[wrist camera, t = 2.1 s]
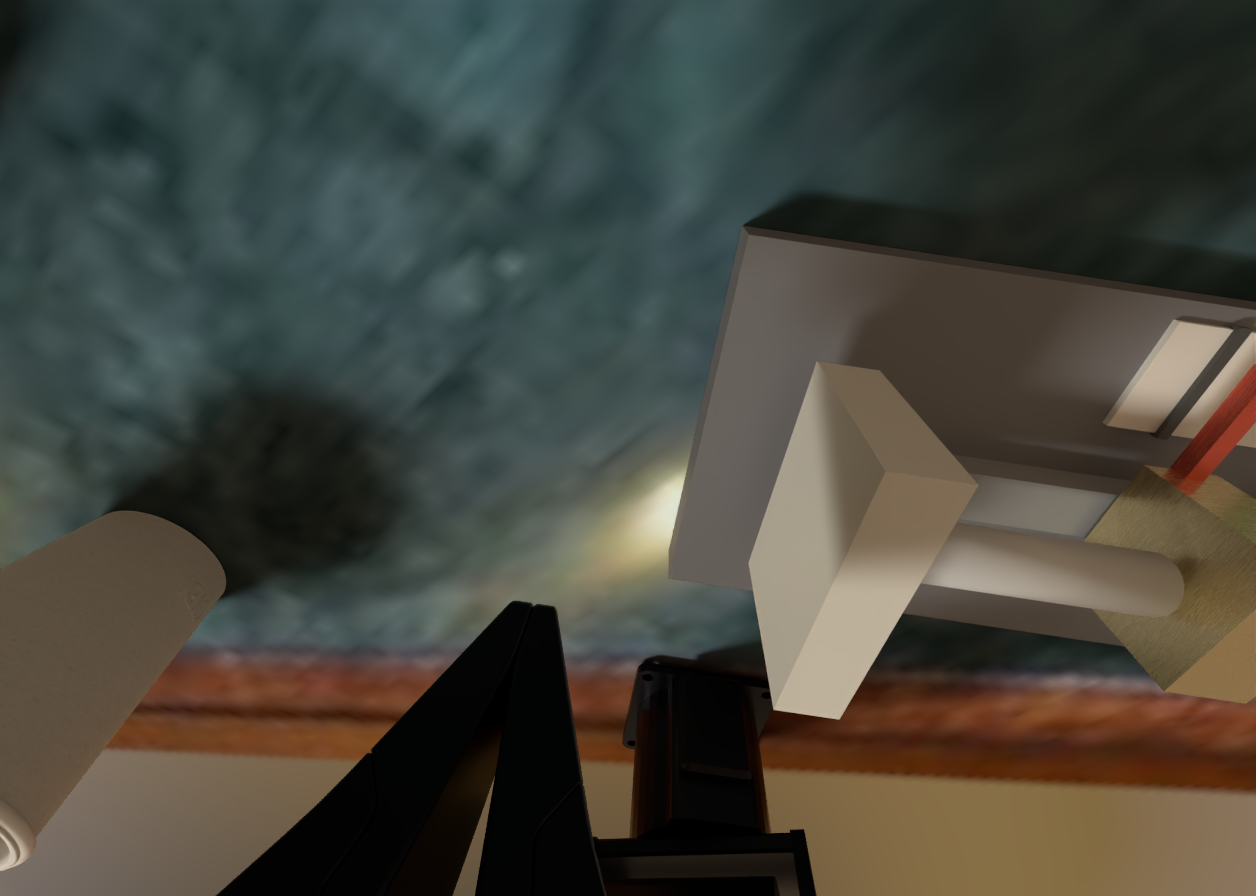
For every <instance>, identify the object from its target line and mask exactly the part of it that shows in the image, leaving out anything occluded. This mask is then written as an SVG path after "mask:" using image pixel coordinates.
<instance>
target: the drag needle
mask: <svg viewBox="0 0 1256 896" xmlns="http://www.w3.org/2000/svg"><path fill="white" fill-rule="evenodd" d="M1255 423H1256V364H1254V365H1253V366H1252V367H1251V369H1250V370H1249V371H1248V372H1247V374H1246V375H1245V376H1244V377H1243V379H1242V380H1241V381H1240V382H1239V383H1238V385H1237V386H1236V387H1235V388H1234V390H1233V391H1232V392H1231V393H1230V394H1229V396H1228V397H1227V398H1226V399H1225V401H1224V402H1223V403H1222V404H1221V405H1220V407H1219V408H1218V409H1217V410H1216V412H1215V413H1214V414H1213V415H1212V417H1211V418H1210V419H1209V420H1208V421H1207V423H1206V424H1205V425H1204V426H1203V428H1202V429H1201V430H1200V431H1199V432H1198V434H1197V435H1196V436H1195V437H1194V439H1193V440H1192V441H1191V442H1190V443H1189V445H1188V446H1187V447H1186V448H1185V450H1184V451H1183V452H1182V453H1181V454H1180V456H1179V457H1178V458H1177V459H1176V461H1175V462H1174V463H1173V464H1172V466H1171V467H1170V468H1171V469H1170V468H1163V467H1157V466H1150V465H1143V466H1142V467H1141V468H1140V470H1139V471H1138V472H1137V474H1136V475H1135V476H1134V477H1133V479H1132V480H1131V481H1130V482H1129V484H1128V485H1127V486H1126V488H1125V489H1124V490H1123V491H1122V493H1121V494H1120V495H1119V497H1118V498H1117V499H1116V500H1115V502H1114V503H1113V504H1112V506H1111V507H1110V508H1109V509H1108V511H1107V512H1106V513H1105V514H1104V516H1103V517H1102V518H1101V520H1100V521H1099V522H1098V523H1097V525H1096V526H1095V527H1094V529H1093V530H1092V531H1091V532H1090V534H1089V535H1088V536H1087V538H1086V539H1085V540H1084V541H1085V542H1091V543H1098V544H1105V545H1111V546H1118V547H1125V548H1132V549H1138V550H1145V551H1152V552H1157V553H1160V554H1162V555H1164V556H1166V557H1167V558H1169V559H1170V560H1171V561H1172V562H1173V563H1174V564H1175V565H1176V566H1177V567H1178V569H1179V571H1180V572H1181V575H1182V577H1183V581H1184V595H1183V599H1182V601H1181V603H1180V605H1179V606H1178V608H1177V609H1176V610H1175V611H1173V612H1172V613H1171V614H1169V615H1167V616H1164V617H1159V618H1151V617H1144V616H1138V615H1131V614H1124V613H1117V612H1111V611H1104V610H1097V609H1092V610H1093V611H1094V612H1095V613H1096V614H1097V615H1098V616H1099V618H1100V619H1101V620H1102V621H1103V622H1104V623H1105V624H1106V626H1107V627H1108V628H1109V629H1110V630H1111V631H1112V632H1113V634H1114V635H1115V636H1116V637H1117V638H1118V639H1119V640H1120V642H1121V643H1122V644H1123V645H1124V646H1125V647H1126V648H1127V650H1128V651H1129V652H1130V653H1131V654H1132V655H1133V656H1134V658H1135V659H1136V660H1137V661H1138V662H1139V663H1140V664H1141V665H1142V667H1143V668H1144V669H1145V670H1146V671H1147V672H1148V673H1149V675H1150V676H1151V677H1152V678H1153V679H1154V680H1155V681H1156V683H1157V684H1158V685H1159V686H1160V687H1161V688H1162V689H1163V691H1165V692H1172V693H1179V694H1185V695H1192V696H1199V697H1206V698H1212V699H1219V700H1226V701H1232V702H1239V703H1247V702H1249V701H1250V700H1251V699H1252V698H1254V697H1255V696H1256V499H1254V498H1252V497H1251V496H1249V495H1248V494H1246V493H1244V492H1243V491H1241V490H1240V489H1238V488H1237V487H1235V486H1233V485H1232V484H1230V483H1229V482H1227V481H1225V480H1224V479H1222V478H1221V477H1219V476H1217V475H1210V474H1211V473H1212V472H1213V471H1214V470H1215V468H1216V467H1217V466H1218V465H1219V464H1220V463H1221V462H1222V460H1223V459H1224V458H1225V457H1226V456H1227V455H1228V454H1229V452H1230V451H1231V450H1232V449H1233V448H1234V447H1235V446H1236V444H1237V443H1238V442H1239V441H1240V440H1241V439H1242V437H1243V436H1244V435H1245V434H1246V433H1247V432H1248V431H1249V429H1250V428H1251V427H1252V426H1253V425H1254V424H1255Z"/></svg>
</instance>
